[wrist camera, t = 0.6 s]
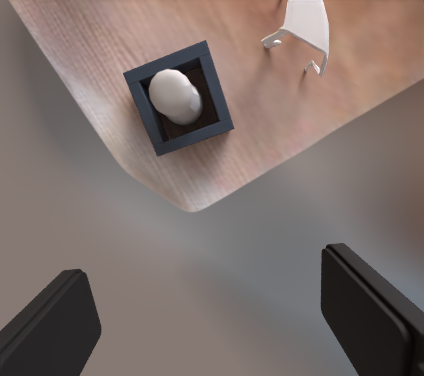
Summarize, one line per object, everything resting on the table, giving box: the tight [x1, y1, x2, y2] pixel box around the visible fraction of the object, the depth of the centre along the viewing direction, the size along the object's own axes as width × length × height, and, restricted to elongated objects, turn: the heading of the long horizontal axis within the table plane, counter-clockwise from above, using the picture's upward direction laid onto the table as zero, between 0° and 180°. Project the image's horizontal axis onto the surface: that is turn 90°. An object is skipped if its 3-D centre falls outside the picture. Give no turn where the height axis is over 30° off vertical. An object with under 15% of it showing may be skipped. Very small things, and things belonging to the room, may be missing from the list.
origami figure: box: [261, 0, 329, 77], centre depth 30 cm, size 12×8×5 cm
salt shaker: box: [149, 69, 204, 126], centre depth 28 cm, size 6×6×13 cm
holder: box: [123, 40, 234, 156], centre depth 32 cm, size 11×11×5 cm
